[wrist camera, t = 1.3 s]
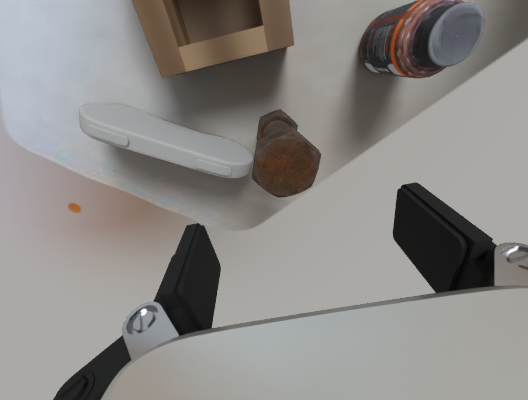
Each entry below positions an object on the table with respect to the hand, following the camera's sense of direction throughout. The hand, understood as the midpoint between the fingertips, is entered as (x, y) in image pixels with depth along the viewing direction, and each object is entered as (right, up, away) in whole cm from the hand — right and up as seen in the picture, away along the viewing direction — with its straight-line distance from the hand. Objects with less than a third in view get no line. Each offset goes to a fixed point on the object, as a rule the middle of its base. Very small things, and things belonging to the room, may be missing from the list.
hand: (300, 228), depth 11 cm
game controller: (-13, +11, +20) cm, 26 cm away
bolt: (0, +12, +20) cm, 23 cm away
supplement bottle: (+12, +19, +16) cm, 28 cm away
